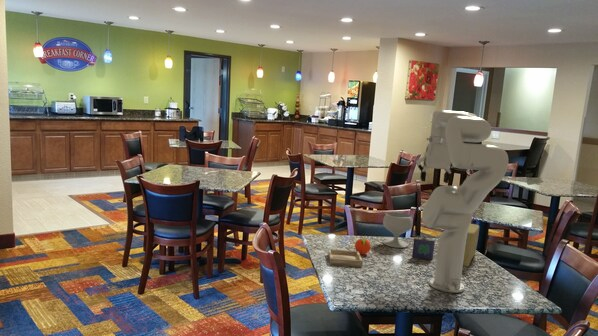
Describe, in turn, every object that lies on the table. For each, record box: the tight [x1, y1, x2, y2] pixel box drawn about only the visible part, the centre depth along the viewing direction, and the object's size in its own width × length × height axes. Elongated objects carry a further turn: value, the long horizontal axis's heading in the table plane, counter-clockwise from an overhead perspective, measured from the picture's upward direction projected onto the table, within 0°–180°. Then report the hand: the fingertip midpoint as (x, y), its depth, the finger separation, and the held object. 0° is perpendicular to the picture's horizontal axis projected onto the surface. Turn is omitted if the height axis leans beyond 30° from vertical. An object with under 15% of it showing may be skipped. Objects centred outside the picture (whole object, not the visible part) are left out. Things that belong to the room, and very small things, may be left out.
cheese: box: [463, 223, 480, 268], centre depth 211 cm, size 22×10×15 cm, turn 162°
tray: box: [327, 248, 364, 268], centre depth 196 cm, size 13×13×2 cm
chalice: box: [382, 211, 413, 249], centre depth 226 cm, size 14×14×15 cm
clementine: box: [354, 238, 371, 255], centre depth 207 cm, size 8×7×7 cm
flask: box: [411, 234, 436, 261], centre depth 207 cm, size 9×3×11 cm, turn 87°
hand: (434, 181), depth 195 cm, fingers open, 9 cm apart
